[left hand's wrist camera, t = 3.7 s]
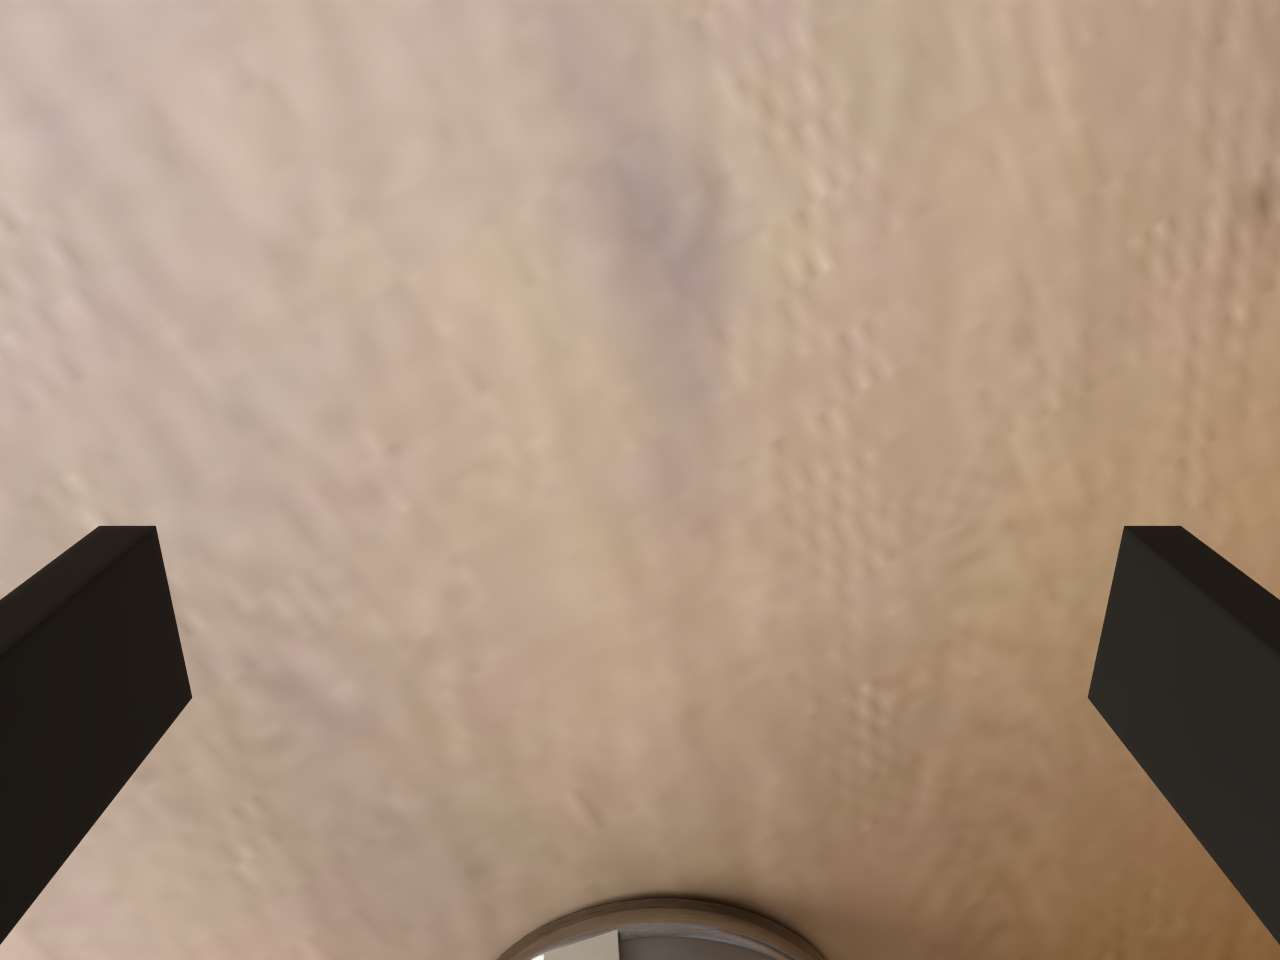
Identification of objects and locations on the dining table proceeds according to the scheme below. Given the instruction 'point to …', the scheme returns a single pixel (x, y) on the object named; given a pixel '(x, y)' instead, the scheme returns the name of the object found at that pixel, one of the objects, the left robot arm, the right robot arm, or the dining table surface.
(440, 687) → the dining table surface
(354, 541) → the dining table surface
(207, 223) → the dining table surface
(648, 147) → the dining table surface
